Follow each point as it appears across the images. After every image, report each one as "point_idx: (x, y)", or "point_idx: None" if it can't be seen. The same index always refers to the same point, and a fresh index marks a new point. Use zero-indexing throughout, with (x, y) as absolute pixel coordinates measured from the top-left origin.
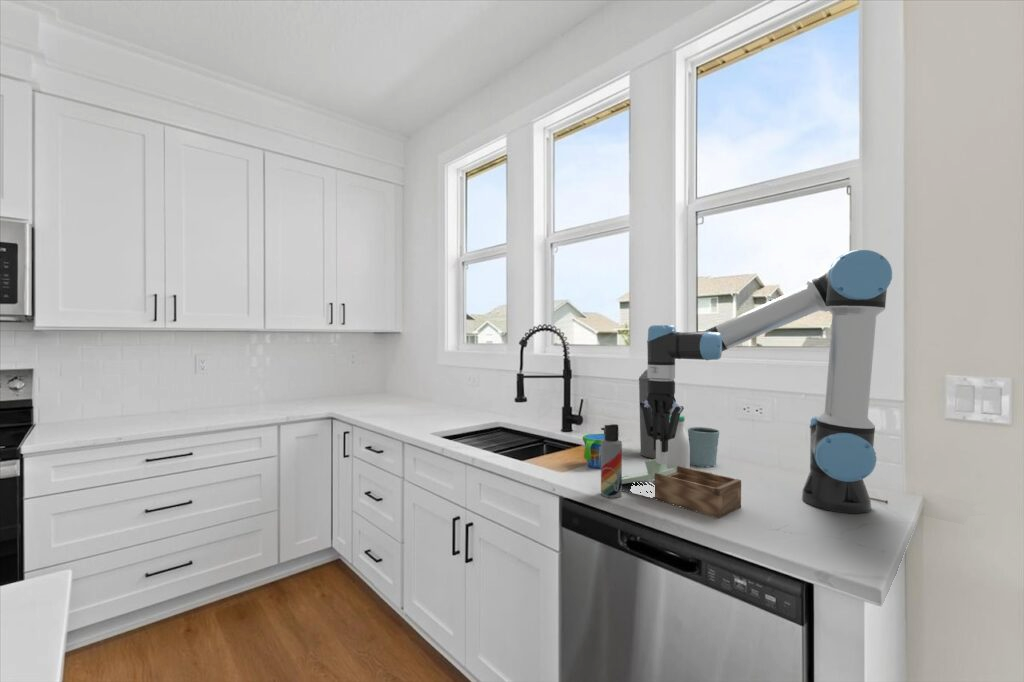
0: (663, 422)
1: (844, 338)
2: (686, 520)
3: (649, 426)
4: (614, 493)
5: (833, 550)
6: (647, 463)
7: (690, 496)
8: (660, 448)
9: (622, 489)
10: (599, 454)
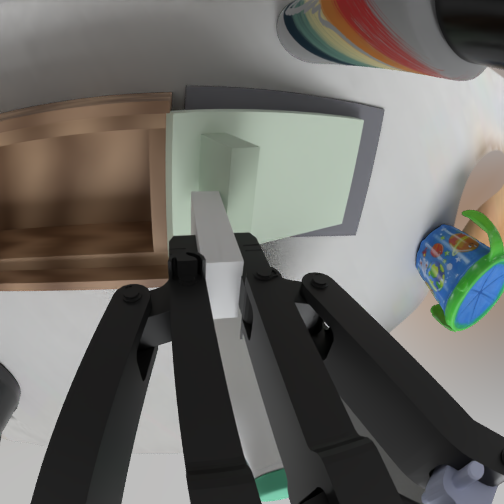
0: (191, 407)
1: None
2: (12, 28)
3: (343, 330)
4: (289, 4)
5: None
6: (242, 145)
7: (21, 111)
8: (197, 234)
9: (308, 98)
10: (454, 248)
